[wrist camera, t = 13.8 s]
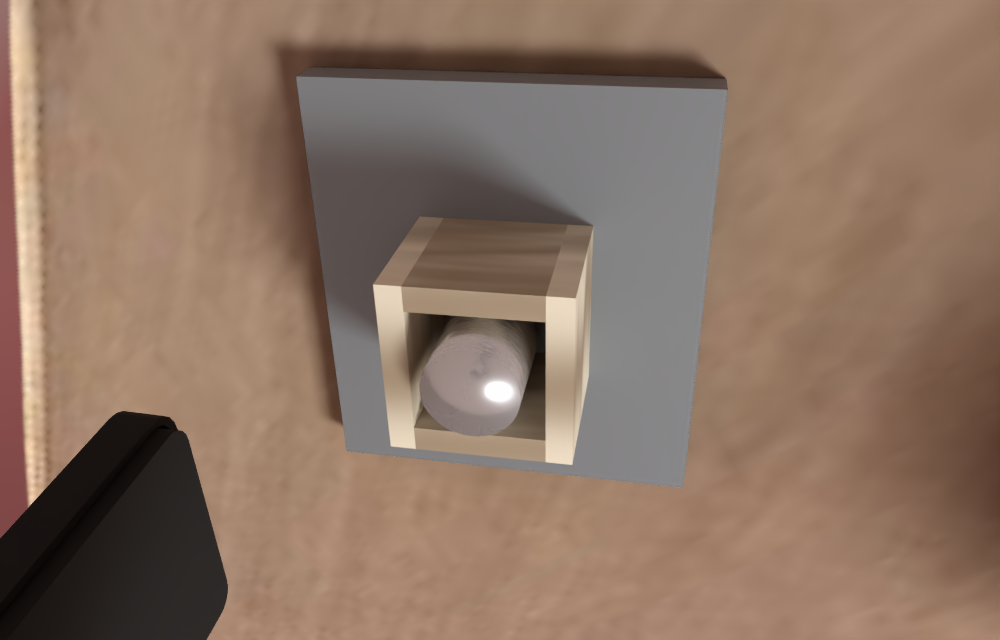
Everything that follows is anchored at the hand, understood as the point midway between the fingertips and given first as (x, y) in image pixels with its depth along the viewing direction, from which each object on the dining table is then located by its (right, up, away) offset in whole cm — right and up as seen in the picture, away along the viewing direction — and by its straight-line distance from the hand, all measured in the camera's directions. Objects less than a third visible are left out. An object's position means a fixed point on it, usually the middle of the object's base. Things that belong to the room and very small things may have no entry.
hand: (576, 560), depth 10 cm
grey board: (0, +4, +28) cm, 28 cm away
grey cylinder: (-1, +4, +26) cm, 27 cm away
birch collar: (-1, +4, +26) cm, 26 cm away
